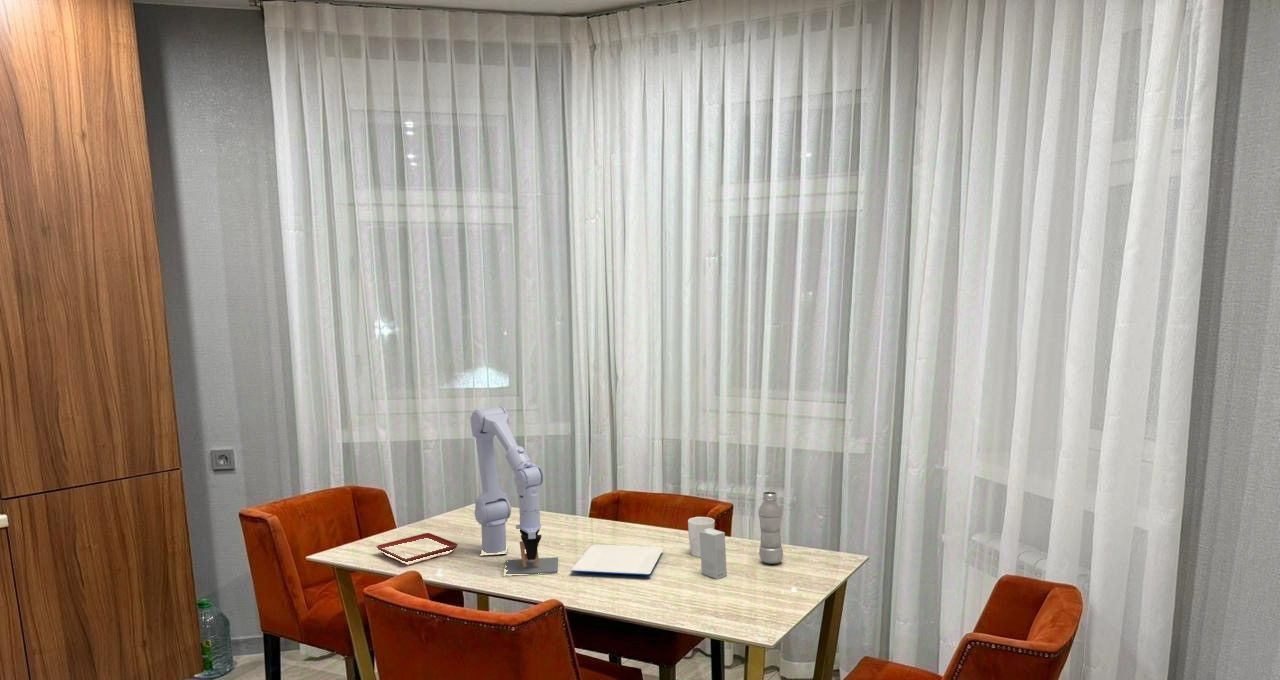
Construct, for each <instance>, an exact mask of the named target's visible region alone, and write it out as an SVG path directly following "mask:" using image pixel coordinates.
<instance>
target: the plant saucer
mask: <svg viewBox="0 0 1280 680" xmlns="http://www.w3.org/2000/svg"><path fill="white" fill-rule="evenodd" d="M424 538H429V539H432V540H434V541H437V542H439V543H441V544H444V545H447V546H449V547H446V548H443V549H439V550H436V551H432V552H428V553H425V554H421V555H418V556H414V557H411V558H407V559H405V558H402V557H400V556H398V555H396V554H394V553H391V552H389V551H387V550H385V549H382V548H385V547H389V546H394V545H398V544H402V543H407V542H412V541H416V540H419V539H424ZM458 545H459V544H458V543H457V542H454V541H451V540H449V539H446V538H444V537H441V536H439V535H436V534H433V533H431V532H424V533H421V534H417V535H413V536H409V537H405V538H401V539H396V540H393V541H390V542H385V543H382V544H378V545H376V548H377V549H378V550H381V551H383V552H385V553H387V554H390V555H392V556H394V557H396V558H398V559H400V560H402V561H405V562H408V561H413V560H416V559H420V558H423V557H427V556H430V555H434V554H438V553H442V552H446V551H450V550H453V549H454V550H455V549H457V547H458ZM454 550H453V551H454Z"/></svg>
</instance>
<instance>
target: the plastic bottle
mask: <svg viewBox="0 0 1280 680" xmlns="http://www.w3.org/2000/svg"><path fill="white" fill-rule="evenodd" d="M762 496H763V497H762V501H763V502H762V503H761V505H760V506H759V508H758V511H757V513H758V519H759V527H760V546H759V552H758V554H759V555H758V556H759V559H760V560H761V562H762V563H765V564H769V565H770V564H771V565H775V564H780V563H782V562H781V561H782V560H783V559H784V558H783V556H784V552H783V550H784V549H783V548H782V547H783V546H782V539H781V523H782V515H783V514H782V513H783V512H782V509H781V507H780V505H779V504H778V502H777V500H778V499H777V492H775V491H765V492H763V493H762Z"/></svg>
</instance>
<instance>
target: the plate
mask: <svg viewBox="0 0 1280 680" xmlns="http://www.w3.org/2000/svg"><path fill="white" fill-rule="evenodd" d="M664 549H665V548H664V547H659V546H638V545H637V546H636V545H616V544H615V545H611V544H590V546H589V547H588V548H587V549H586V551H585V552H584V553H582V555H581V557H580V558H579V559H577V561H576V562H575V564H574V565H573V566H572V567H571V569H570V571H571V572H577V573H597V574H598V573H599V574H616V575H617V574H619V575H620V574H621V575H633V576H634V575H640V576H649V575H650V574H651V572H652V571H653V569H654V568H655V565H656V563H657V562H658V560H659V558H660V556H661V554H662V552H663V551H664Z"/></svg>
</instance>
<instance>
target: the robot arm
mask: <svg viewBox="0 0 1280 680" xmlns="http://www.w3.org/2000/svg"><path fill="white" fill-rule="evenodd" d="M509 424H510V416H509V414H508V411H507V409H506V408H505V407H504V406H498V407H491V408H489V407H488V408H481V409H478V408H477V409H474V410H473V412H472V414H471V416H470V428H471V433H472V437H474V438H475V444H476V445H475V446H476V452H477V458H478V459H477V460H478V467H479V468H478V469H479V475H480V476H479V477H480V484H481V490H482V492H481V493H480V494H479V496H477V498H476V499H475V501H474V503H475V505H474V506H475V507H474V508H475V509H474V518H475V521H476V522H477V523H478V524H479V525H481V549H482V550H483V551H484V552H486V553H498V552H502V551H505V550H506V544H507V534H506V533H507V529H506V527H507V526H506V523H508V519H509V518H510V517H511V514H512V506H511V503H510V502H509V498H508V496H509V495H508V494H507V493H505V491H502V490H501V489H500V484H499V482H500V481H499V474H498V469H497V459H496V453H495V451H496V450H495V446H494V445H495V444H494V438H495V437H496V438H497V439H498V441H499V442H500V444H501V445H502V447H503V448H504V450H505V451H506V454H505V459H506V461H507V463H508V465H509V466H510V468H511V469H512V471H513V473H514V478H513V480H514V484H515V487H516V494H517V495H518V501H519V502H518V503H519V504H518V507H519V508H518V509H519V524H516V525H515V529H516V530H519V532H520V534H521V535H520V539H521V541H523V543H524V545H525V548H526V549H525V554H527V558H528V560H535V559H536V554H537V549H538V547H539V545H540V541H541V539H542V534H539V532H540V529H541V527H542V524H541V512H540V511H541V509H540V508H541V507H540V506H541V504H540V503H541V502H540V501H541V500H540V486H541V485H542V483H543V482H544V475H543V471H542V468H541V467H540V466H539V465H536V464H535V463H534V462H532V461H531V459H530V457H529V456H528V453H527V452H526V450H525V448H524V447H523V446H520V445H518V444H517V441H516V438H515V436H514V435H513V432H512V430H511V428H510V426H509Z"/></svg>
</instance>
